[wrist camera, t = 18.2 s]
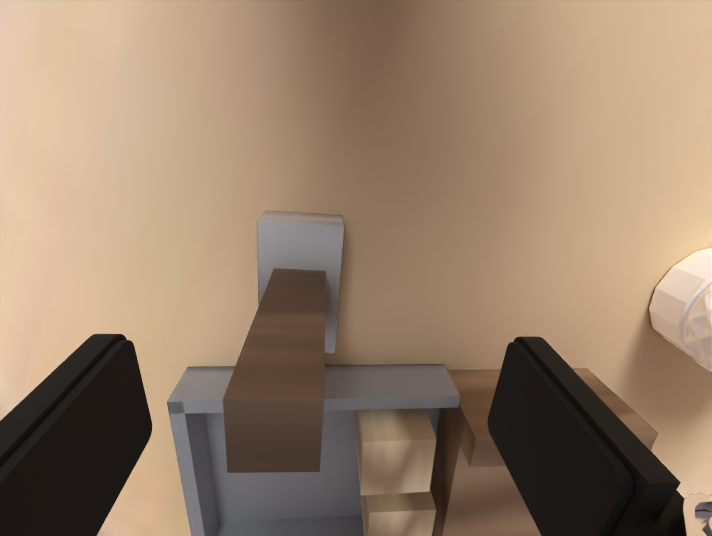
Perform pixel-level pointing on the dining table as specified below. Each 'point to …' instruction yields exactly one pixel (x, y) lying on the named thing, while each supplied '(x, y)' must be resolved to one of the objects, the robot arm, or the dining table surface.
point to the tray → (291, 489)
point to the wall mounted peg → (286, 347)
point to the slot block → (491, 461)
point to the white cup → (686, 307)
